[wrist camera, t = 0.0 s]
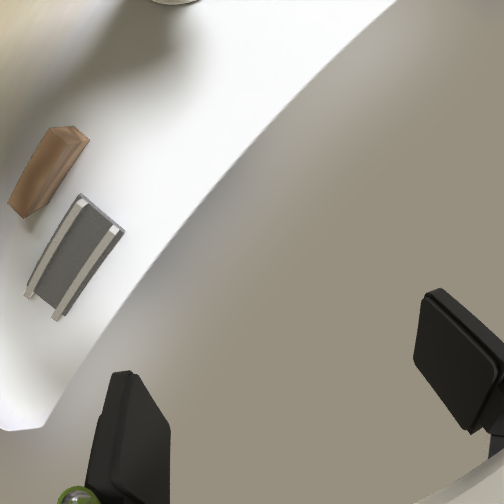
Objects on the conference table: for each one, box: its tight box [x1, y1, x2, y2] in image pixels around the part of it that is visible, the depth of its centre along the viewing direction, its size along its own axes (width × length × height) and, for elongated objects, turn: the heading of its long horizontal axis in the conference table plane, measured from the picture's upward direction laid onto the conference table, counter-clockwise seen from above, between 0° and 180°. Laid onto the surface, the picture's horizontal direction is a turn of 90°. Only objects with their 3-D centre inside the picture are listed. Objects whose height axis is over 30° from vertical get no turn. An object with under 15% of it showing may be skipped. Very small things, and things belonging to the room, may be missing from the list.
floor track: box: [24, 194, 125, 322], centre depth 43 cm, size 9×20×4 cm, turn 136°
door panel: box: [8, 126, 90, 219], centre depth 35 cm, size 4×12×8 cm, turn 136°
